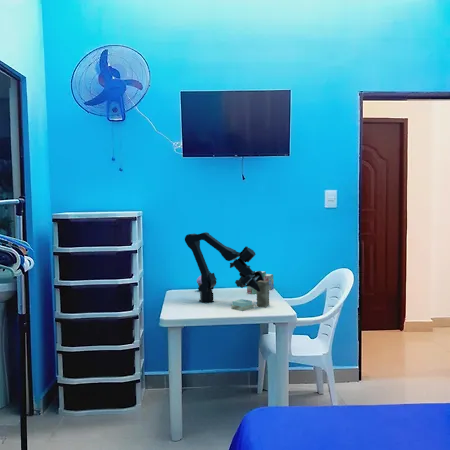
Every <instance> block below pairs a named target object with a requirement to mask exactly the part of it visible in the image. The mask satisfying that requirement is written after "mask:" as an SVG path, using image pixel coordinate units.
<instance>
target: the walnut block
mask: <svg viewBox="0 0 450 450" xmlns="http://www.w3.org/2000/svg"><path fill="white" fill-rule="evenodd" d="M257 284H258V286H259V288H260V292H258V291H257V294H256V306H258V307H259V308H267V307H269V306H270V290H269V281H261V280H260V281H258V282H257ZM268 305H269V306H268ZM258 307H257V308H258Z"/></svg>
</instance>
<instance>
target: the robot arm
mask: <svg viewBox="0 0 450 450" xmlns="http://www.w3.org/2000/svg"><path fill="white" fill-rule="evenodd" d="M201 241H205V243H207V244H208V245H210V247H212V248H214V249H215V250H216V251H217V252H219V254H220V255H221V257H222V258H223V259H224V260H225V261H227V262H230V263H229V268H230V269H232V268H235V269H236V270H237V271H238V272H239V274H238V275H239V276H240V277H239V278H238V279H236V280H235V282H234V284H235V285H236V287H238V288H241V289H243V288H245V287H247V286H250V287H252V288H253V289H255V290H257V291H258V292H260V288H259V286H258V284H257V282H258V281H260V280H261V281H264V278H263V273H262V272H261V271H262V270H256V271H255V270H252V268H251V266H250V265H248V264H247V263H249V262H250V261H251V260H253V258H254V257H255V256H256V252H255V251H254V250H253V249H252V248H250V247H248V246H245V247H244V248H243V249H242V250H241V251H240V252H239V251H237V250H236V249H234V248H232V247H229V246H227V245H225V244H224V243H222V242H220V241H219V239H217V238H215V237H214V236H213V235H212V234H210V233H209V232H207V231H206V232H201V233H198V234H197V233H188V234H186V235H185V236H184V242H185V243H186V246H187V247H188V248H189V249H190V250H191V251H192V254H193V256H194V260H195V262H196V264H197V268H198V270H199V273H200V276H201V282H202V284H201V285H200V286H198V291H199V297H200V298H199V302H200V303H202V304H205V303H214V301H215V300H214V292H213V290H214V288H215V286H216V285H217V278H216V275H215V272H211V271H210V270H209V266H208V264H207V262H206V259H205V257H204V254H203V252H202V250H201Z"/></svg>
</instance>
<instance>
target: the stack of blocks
mask: <svg viewBox="0 0 450 450" xmlns="http://www.w3.org/2000/svg"><path fill="white" fill-rule="evenodd" d="M260 271H261V272H262V273H263V278H264V281H269V291H270V290H274V289H275V288H274V285H275V284H274V282H275V281H274V274H272V273H271V274H270V273H266V271H262V270H260ZM246 291H247V292H246V294H247V293H248V294H247V295H255V294H256V295H257V290H255V289H253V288H252V287H250V286H246Z"/></svg>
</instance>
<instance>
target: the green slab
mask: <svg viewBox="0 0 450 450" xmlns="http://www.w3.org/2000/svg"><path fill="white" fill-rule="evenodd" d="M232 305H235V306H240V307H245V306H249V305H253V301H252V300H248V299H243V298H241V299H237V300H233V301H232Z"/></svg>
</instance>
